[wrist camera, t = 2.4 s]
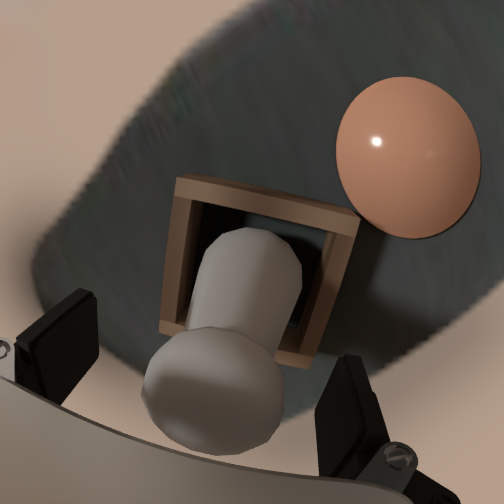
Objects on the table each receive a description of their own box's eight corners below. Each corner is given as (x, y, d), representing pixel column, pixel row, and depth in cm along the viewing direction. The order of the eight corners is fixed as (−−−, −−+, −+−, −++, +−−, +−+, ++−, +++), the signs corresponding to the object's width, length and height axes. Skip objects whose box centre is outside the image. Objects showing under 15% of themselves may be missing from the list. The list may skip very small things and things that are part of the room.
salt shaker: (204, 221, 19) (80, 331, 7) (298, 215, 19) (312, 337, 6) (216, 306, 21) (143, 465, 9) (302, 304, 20) (307, 480, 8)
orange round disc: (487, 113, 15) (490, 113, 14) (454, 252, 18) (457, 254, 18) (352, 56, 15) (353, 54, 15) (317, 214, 18) (318, 215, 18)
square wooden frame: (350, 208, 18) (360, 218, 15) (307, 342, 21) (309, 369, 18) (193, 172, 18) (176, 176, 16) (174, 310, 22) (158, 332, 19)
